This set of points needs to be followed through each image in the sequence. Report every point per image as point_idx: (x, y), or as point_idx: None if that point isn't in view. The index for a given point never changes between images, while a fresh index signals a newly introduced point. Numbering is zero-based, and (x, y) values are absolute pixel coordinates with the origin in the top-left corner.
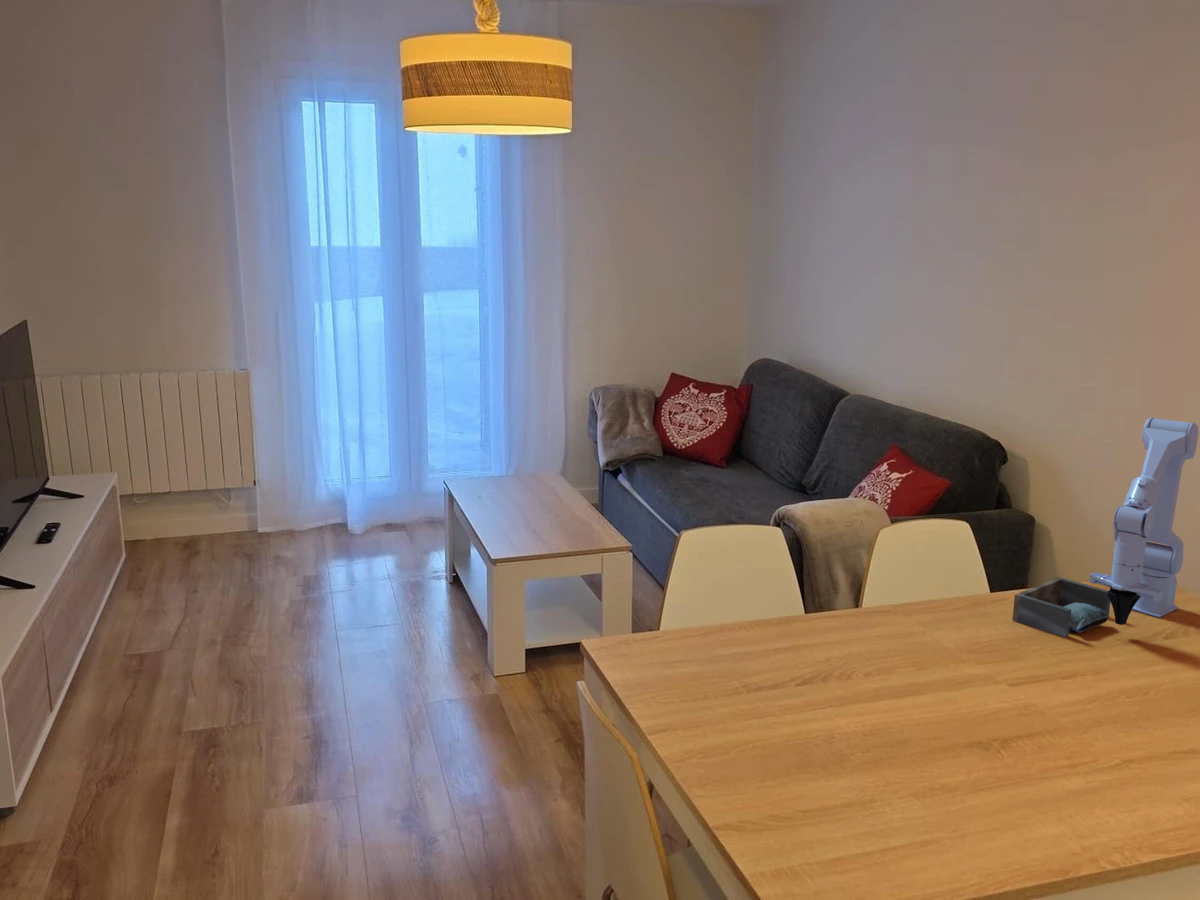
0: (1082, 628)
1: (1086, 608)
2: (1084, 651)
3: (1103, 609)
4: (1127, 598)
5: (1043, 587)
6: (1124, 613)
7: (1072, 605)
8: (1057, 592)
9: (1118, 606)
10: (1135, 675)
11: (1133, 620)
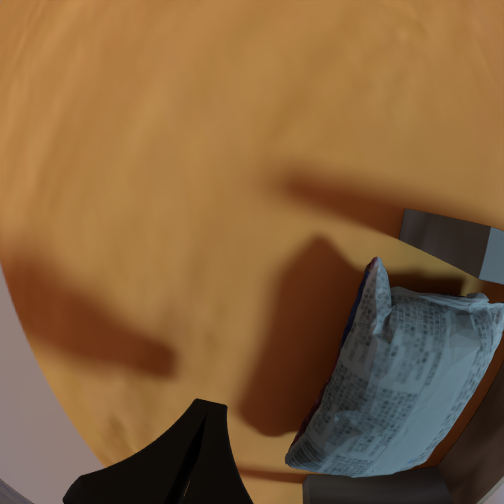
0: (361, 285)
1: (383, 432)
2: (281, 93)
3: (319, 496)
4: (82, 494)
5: None
6: (161, 435)
7: (445, 417)
8: (456, 484)
9: (195, 471)
10: (73, 40)
11: None
